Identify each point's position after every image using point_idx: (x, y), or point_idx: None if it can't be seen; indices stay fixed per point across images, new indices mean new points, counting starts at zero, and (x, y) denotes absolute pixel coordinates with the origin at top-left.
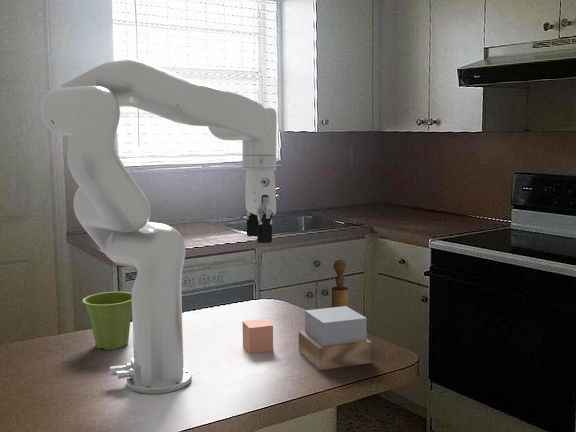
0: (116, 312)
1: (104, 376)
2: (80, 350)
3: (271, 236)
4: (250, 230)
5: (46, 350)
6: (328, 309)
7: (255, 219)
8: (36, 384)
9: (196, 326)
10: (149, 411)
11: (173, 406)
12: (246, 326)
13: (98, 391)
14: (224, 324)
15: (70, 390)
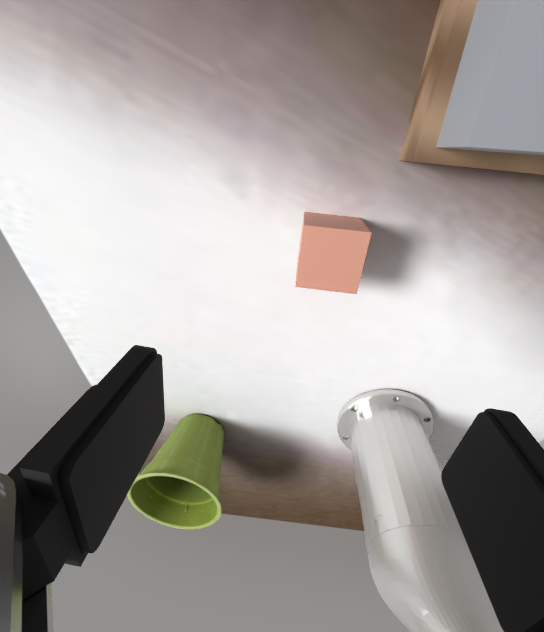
0: (218, 488)
1: (322, 460)
2: None
3: (538, 451)
4: (143, 445)
5: None
6: (528, 33)
7: (65, 512)
8: (308, 506)
9: (138, 300)
10: None
11: None
12: (331, 289)
13: None
14: (137, 244)
15: (345, 490)
